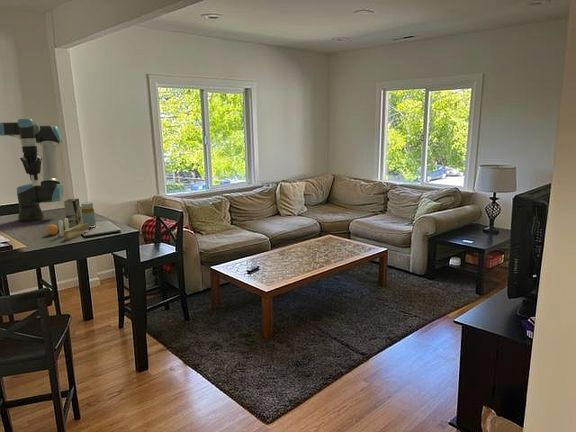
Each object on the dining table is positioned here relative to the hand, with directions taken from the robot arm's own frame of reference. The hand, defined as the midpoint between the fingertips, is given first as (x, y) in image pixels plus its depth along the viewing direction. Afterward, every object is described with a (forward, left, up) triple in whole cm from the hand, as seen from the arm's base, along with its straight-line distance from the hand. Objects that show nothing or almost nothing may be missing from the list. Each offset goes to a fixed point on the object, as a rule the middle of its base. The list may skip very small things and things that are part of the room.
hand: (35, 185), depth 259 cm
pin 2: (+25, -11, -26) cm, 38 cm away
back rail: (+33, -13, -26) cm, 44 cm away
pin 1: (+25, -16, -26) cm, 40 cm away
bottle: (+29, +5, -27) cm, 40 cm away
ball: (+17, -13, -23) cm, 32 cm away
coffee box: (+16, +9, -27) cm, 32 cm away
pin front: (+22, -13, -25) cm, 36 cm away
